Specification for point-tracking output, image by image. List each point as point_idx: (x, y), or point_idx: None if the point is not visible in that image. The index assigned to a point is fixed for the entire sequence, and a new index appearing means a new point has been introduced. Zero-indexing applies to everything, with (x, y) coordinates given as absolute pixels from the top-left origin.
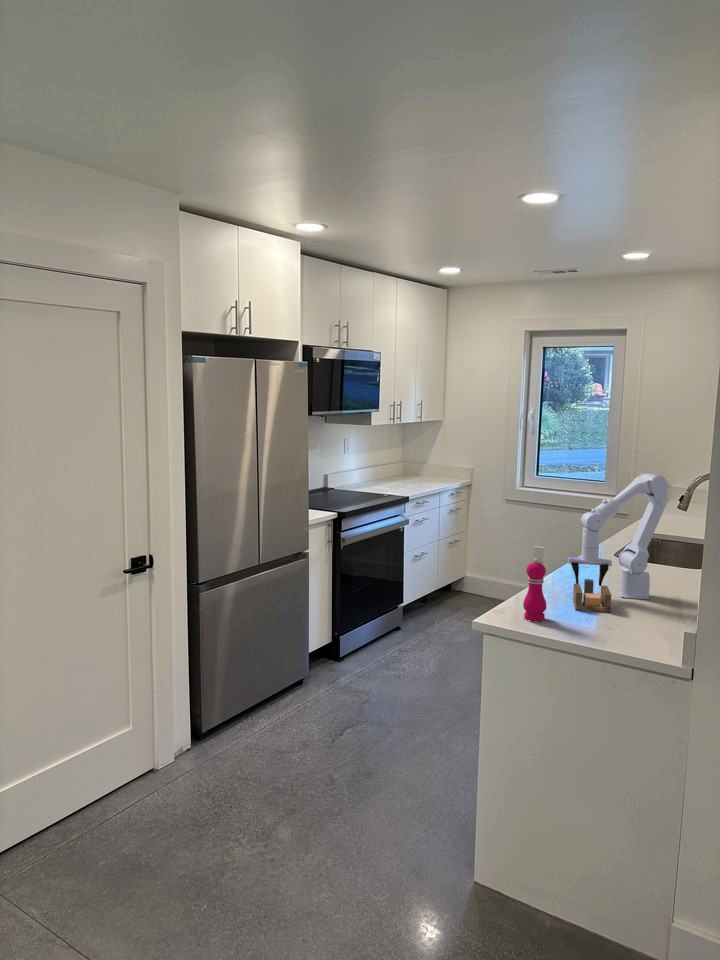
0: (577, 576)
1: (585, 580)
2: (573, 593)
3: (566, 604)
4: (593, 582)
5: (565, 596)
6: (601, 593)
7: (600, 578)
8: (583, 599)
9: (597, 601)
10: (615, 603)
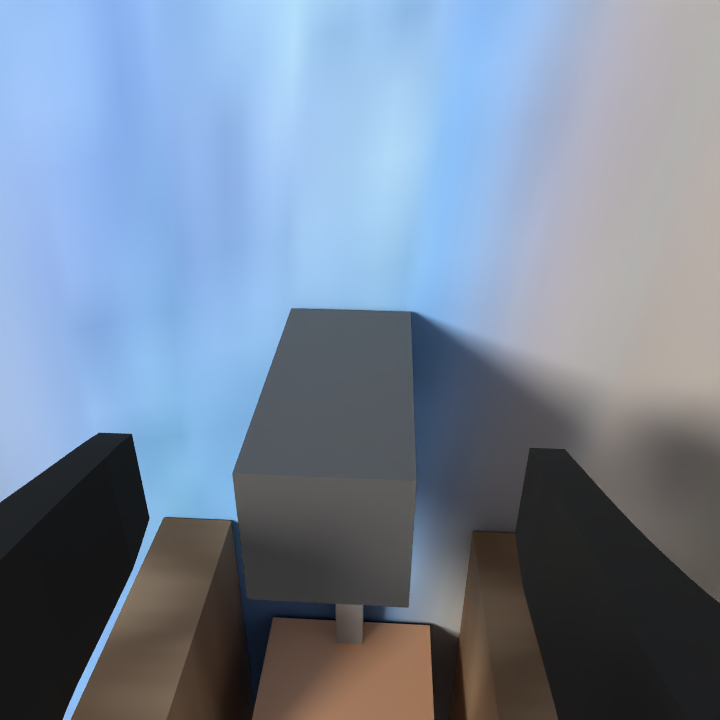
0: (58, 682)
1: (253, 565)
2: (132, 599)
3: (111, 624)
4: (407, 594)
5: (53, 383)
6: (481, 696)
7: (554, 696)
8: (263, 678)
9: None
10: (649, 535)
